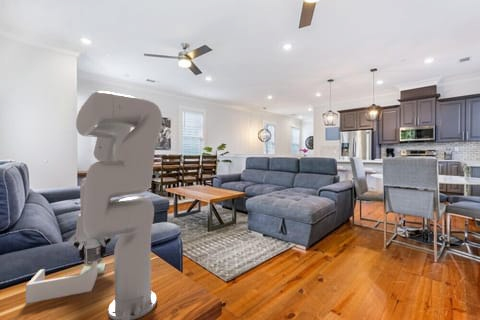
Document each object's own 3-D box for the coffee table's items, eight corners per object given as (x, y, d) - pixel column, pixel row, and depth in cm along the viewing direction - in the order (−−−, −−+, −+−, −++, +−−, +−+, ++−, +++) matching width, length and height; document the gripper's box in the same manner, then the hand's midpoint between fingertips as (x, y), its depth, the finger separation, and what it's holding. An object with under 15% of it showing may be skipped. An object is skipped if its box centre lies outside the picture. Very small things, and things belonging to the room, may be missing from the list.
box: (91, 291, 74) (91, 274, 74) (26, 303, 68) (25, 285, 68) (97, 275, 83) (97, 260, 83) (40, 285, 77) (40, 269, 77)
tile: (103, 272, 85) (103, 271, 85) (79, 276, 82) (79, 275, 82) (106, 264, 92) (106, 262, 92) (84, 267, 89) (84, 266, 89)
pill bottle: (105, 260, 90) (105, 235, 90) (94, 267, 84) (94, 240, 84) (91, 259, 90) (91, 234, 90) (80, 266, 85) (80, 240, 85)
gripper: (119, 206, 94) (119, 250, 94) (68, 209, 87) (68, 257, 87) (117, 210, 87) (117, 257, 87) (61, 214, 80) (62, 265, 81)
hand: (93, 256), depth 87 cm, fingers closed on pill bottle, 5 cm apart
